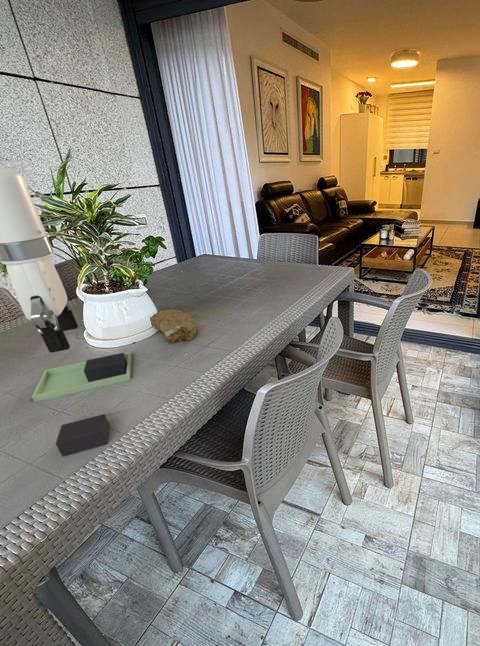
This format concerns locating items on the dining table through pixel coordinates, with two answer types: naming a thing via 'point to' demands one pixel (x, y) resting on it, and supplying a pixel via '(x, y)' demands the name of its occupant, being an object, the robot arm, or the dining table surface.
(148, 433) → the dining table surface
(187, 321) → the sponge
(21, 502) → the dining table surface
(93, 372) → the pad
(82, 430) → the pad
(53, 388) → the tray
